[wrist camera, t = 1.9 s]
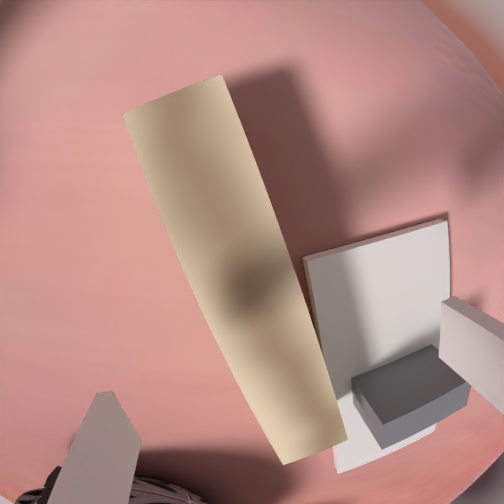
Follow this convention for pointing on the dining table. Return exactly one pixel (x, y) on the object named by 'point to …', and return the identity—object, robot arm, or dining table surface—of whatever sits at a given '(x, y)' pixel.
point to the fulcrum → (385, 338)
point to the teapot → (140, 493)
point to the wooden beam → (237, 262)
